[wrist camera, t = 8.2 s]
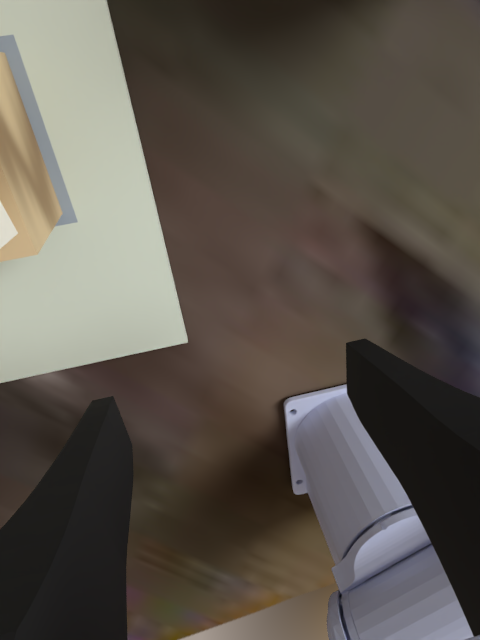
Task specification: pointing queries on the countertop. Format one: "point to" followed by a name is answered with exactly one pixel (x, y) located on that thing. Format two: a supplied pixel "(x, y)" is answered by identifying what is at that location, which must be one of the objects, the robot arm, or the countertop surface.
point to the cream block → (6, 227)
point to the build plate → (83, 202)
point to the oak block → (23, 175)
